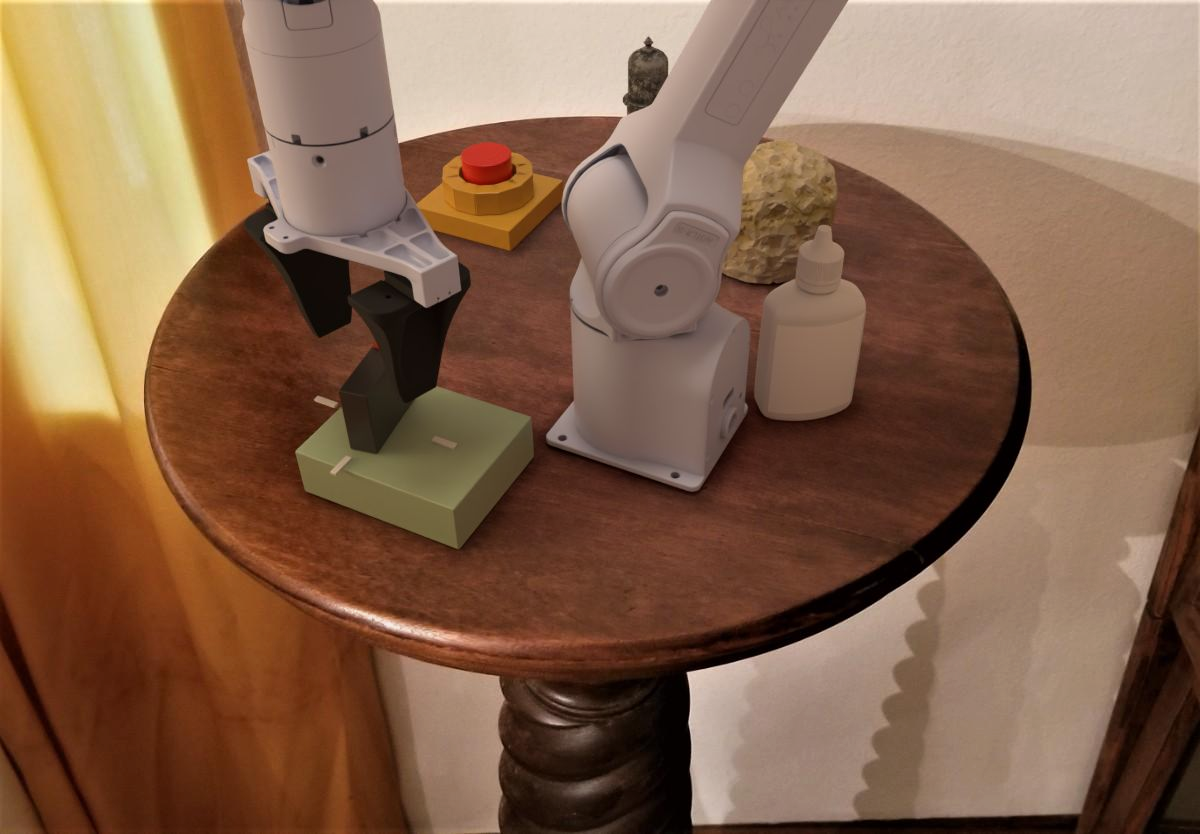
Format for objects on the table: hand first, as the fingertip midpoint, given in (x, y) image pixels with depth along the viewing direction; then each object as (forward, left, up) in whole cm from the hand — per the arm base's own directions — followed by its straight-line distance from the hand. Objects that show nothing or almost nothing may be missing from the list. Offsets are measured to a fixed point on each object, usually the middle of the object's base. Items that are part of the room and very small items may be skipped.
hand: (373, 359), depth 60 cm
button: (+9, -26, -4) cm, 28 cm away
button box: (+9, -26, -7) cm, 29 cm away
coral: (-11, -30, -8) cm, 33 cm away
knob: (0, 0, -4) cm, 4 cm away
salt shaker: (0, -34, -8) cm, 35 cm away
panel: (-2, 0, -7) cm, 8 cm away
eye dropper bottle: (-19, -15, -8) cm, 25 cm away
